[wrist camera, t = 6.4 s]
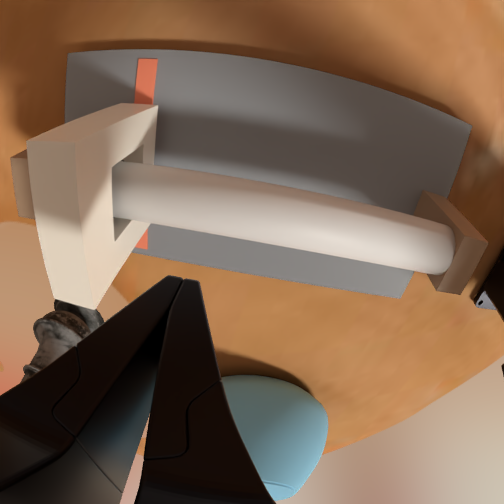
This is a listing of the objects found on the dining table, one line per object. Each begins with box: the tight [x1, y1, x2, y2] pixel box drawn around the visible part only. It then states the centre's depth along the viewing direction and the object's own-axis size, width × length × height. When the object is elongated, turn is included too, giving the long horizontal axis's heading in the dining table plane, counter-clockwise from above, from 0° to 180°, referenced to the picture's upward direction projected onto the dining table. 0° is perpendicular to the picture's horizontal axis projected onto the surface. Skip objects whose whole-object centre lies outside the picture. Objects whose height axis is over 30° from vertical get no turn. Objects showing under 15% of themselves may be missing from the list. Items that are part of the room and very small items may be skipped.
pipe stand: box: [10, 49, 489, 298], centre depth 14 cm, size 22×12×6 cm, turn 81°
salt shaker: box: [20, 299, 104, 383], centre depth 20 cm, size 6×6×12 cm
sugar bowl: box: [221, 375, 328, 501], centre depth 25 cm, size 15×15×12 cm
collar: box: [26, 103, 158, 310], centre depth 12 cm, size 2×6×7 cm, turn 171°
